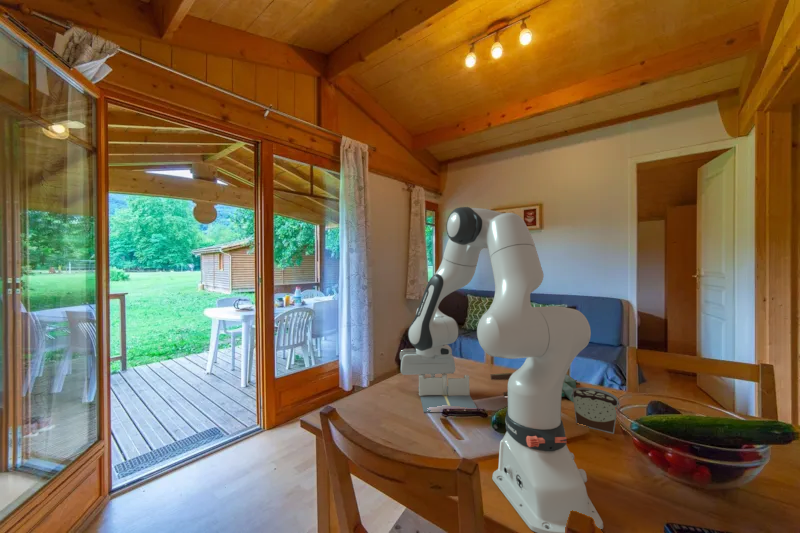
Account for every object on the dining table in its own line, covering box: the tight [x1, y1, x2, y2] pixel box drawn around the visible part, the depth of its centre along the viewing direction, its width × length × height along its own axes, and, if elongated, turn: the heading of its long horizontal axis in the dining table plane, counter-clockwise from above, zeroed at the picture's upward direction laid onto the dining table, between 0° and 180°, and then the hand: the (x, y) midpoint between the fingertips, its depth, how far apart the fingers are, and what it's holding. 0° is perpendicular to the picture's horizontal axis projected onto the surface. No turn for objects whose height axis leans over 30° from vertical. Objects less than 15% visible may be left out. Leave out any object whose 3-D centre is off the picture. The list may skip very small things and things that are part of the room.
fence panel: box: [418, 374, 448, 397], centre depth 114 cm, size 10×2×7 cm, turn 92°
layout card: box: [417, 385, 478, 414], centre depth 113 cm, size 20×18×1 cm
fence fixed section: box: [447, 374, 470, 396], centre depth 115 cm, size 8×2×7 cm, turn 92°
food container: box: [571, 386, 621, 435], centre depth 94 cm, size 12×6×10 cm, turn 56°
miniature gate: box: [490, 372, 581, 403], centre depth 122 cm, size 27×6×30 cm
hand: (427, 385), depth 117 cm, fingers closed
